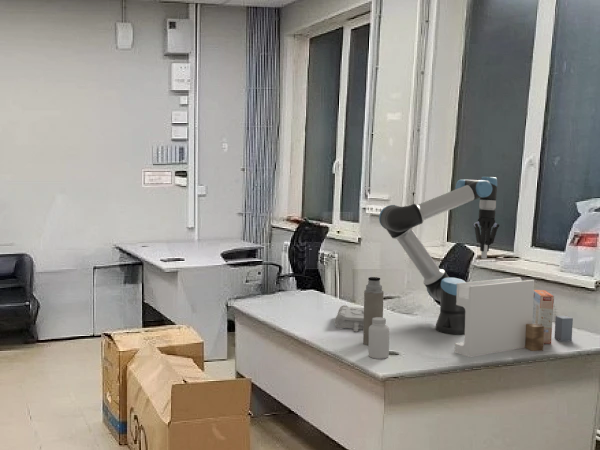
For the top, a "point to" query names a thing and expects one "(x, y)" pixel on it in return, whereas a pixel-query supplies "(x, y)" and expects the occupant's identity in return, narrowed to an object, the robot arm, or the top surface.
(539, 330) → the walnut block
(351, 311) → the gray tool case
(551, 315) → the cracker box
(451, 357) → the top surface
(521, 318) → the block
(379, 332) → the pill bottle
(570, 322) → the slate block
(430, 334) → the top surface
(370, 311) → the thermos bottle
